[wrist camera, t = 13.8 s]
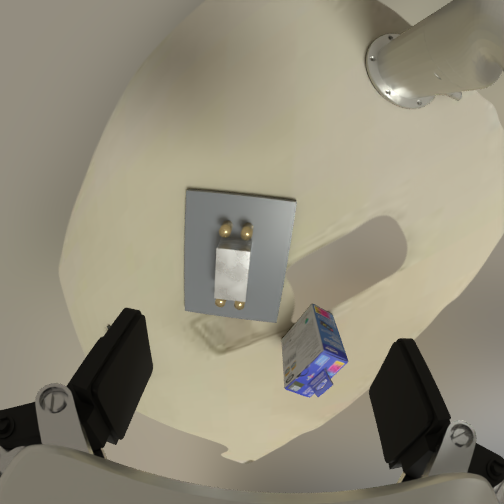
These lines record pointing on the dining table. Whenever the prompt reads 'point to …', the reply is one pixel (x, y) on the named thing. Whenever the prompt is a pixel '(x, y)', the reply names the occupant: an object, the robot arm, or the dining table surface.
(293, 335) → the ink cartridge box
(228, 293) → the block
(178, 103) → the dining table surface
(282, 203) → the pin tray
